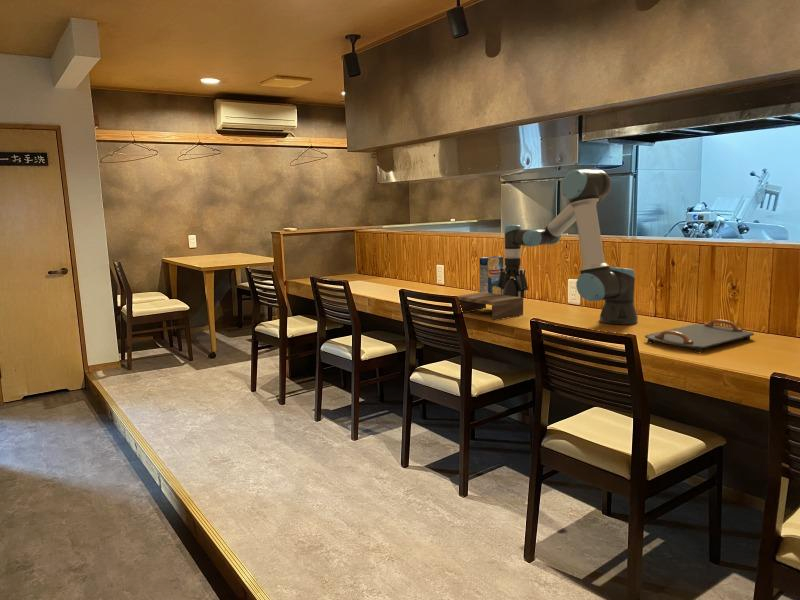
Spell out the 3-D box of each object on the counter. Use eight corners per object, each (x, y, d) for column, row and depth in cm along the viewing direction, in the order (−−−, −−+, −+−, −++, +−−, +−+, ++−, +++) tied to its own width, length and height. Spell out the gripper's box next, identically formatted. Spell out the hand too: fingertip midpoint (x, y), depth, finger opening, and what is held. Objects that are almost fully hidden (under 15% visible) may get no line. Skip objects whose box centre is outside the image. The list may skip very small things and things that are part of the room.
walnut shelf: (523, 314, 276) (523, 297, 274) (495, 320, 265) (495, 302, 264) (483, 307, 296) (483, 291, 295) (455, 312, 286) (455, 296, 285)
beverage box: (479, 298, 326) (479, 257, 322) (494, 296, 332) (494, 256, 328) (488, 299, 320) (487, 258, 317) (503, 297, 326) (503, 257, 323)
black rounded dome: (522, 307, 296) (522, 276, 294) (524, 310, 286) (524, 279, 284) (501, 307, 297) (501, 276, 295) (502, 311, 287) (502, 279, 285)
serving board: (699, 329, 238) (700, 314, 237) (760, 340, 219) (761, 323, 218) (637, 344, 217) (638, 327, 216) (698, 357, 198) (699, 338, 197)
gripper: (536, 258, 281) (535, 305, 284) (500, 255, 299) (500, 299, 302) (525, 259, 276) (525, 307, 280) (490, 256, 294) (490, 301, 298)
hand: (512, 303), depth 291 cm, fingers closed on black rounded dome, 10 cm apart
